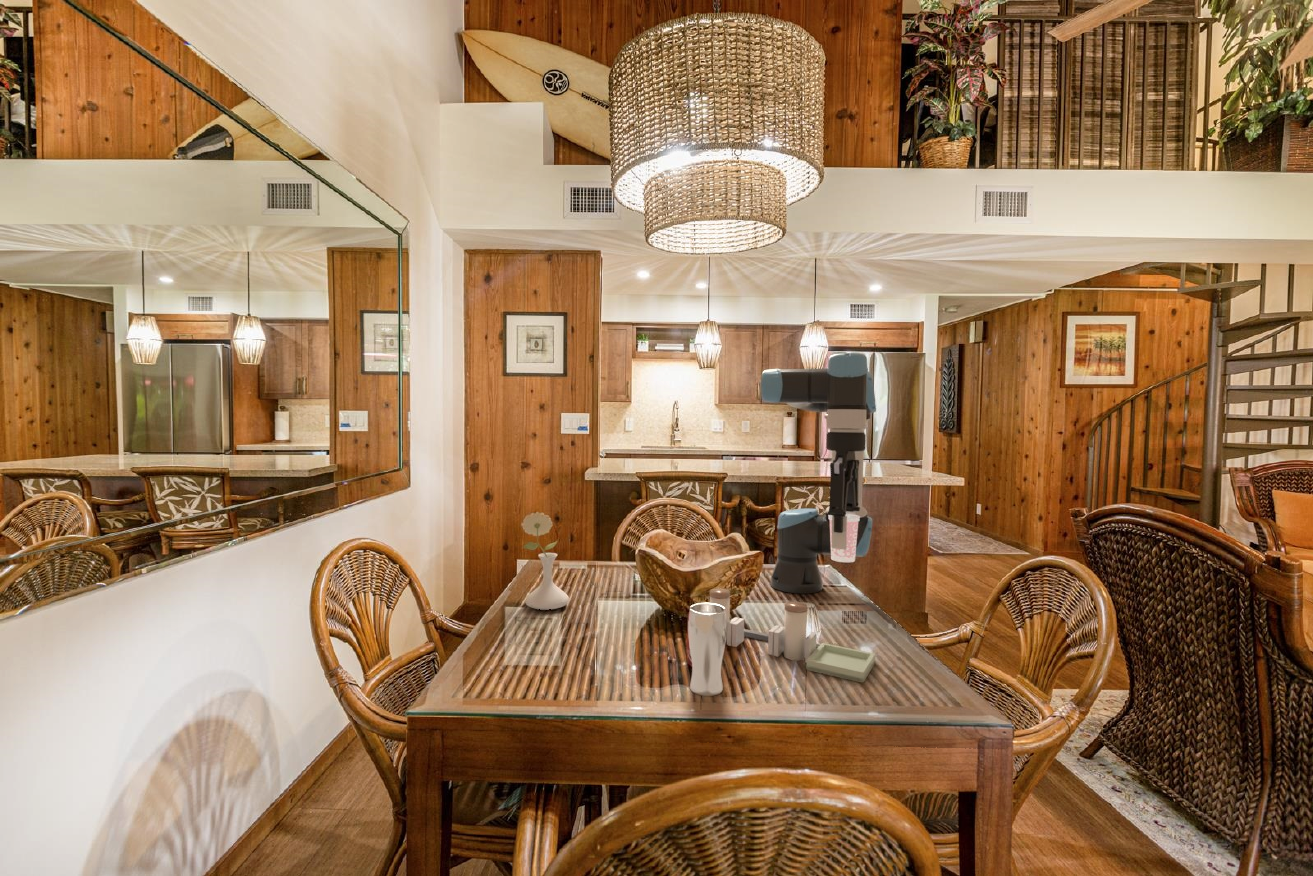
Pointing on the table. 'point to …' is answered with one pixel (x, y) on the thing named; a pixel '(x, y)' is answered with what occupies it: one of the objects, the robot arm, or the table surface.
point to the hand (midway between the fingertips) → (843, 545)
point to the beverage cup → (850, 551)
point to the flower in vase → (547, 591)
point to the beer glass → (707, 647)
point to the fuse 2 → (795, 630)
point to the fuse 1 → (721, 601)
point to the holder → (766, 637)
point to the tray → (841, 662)
